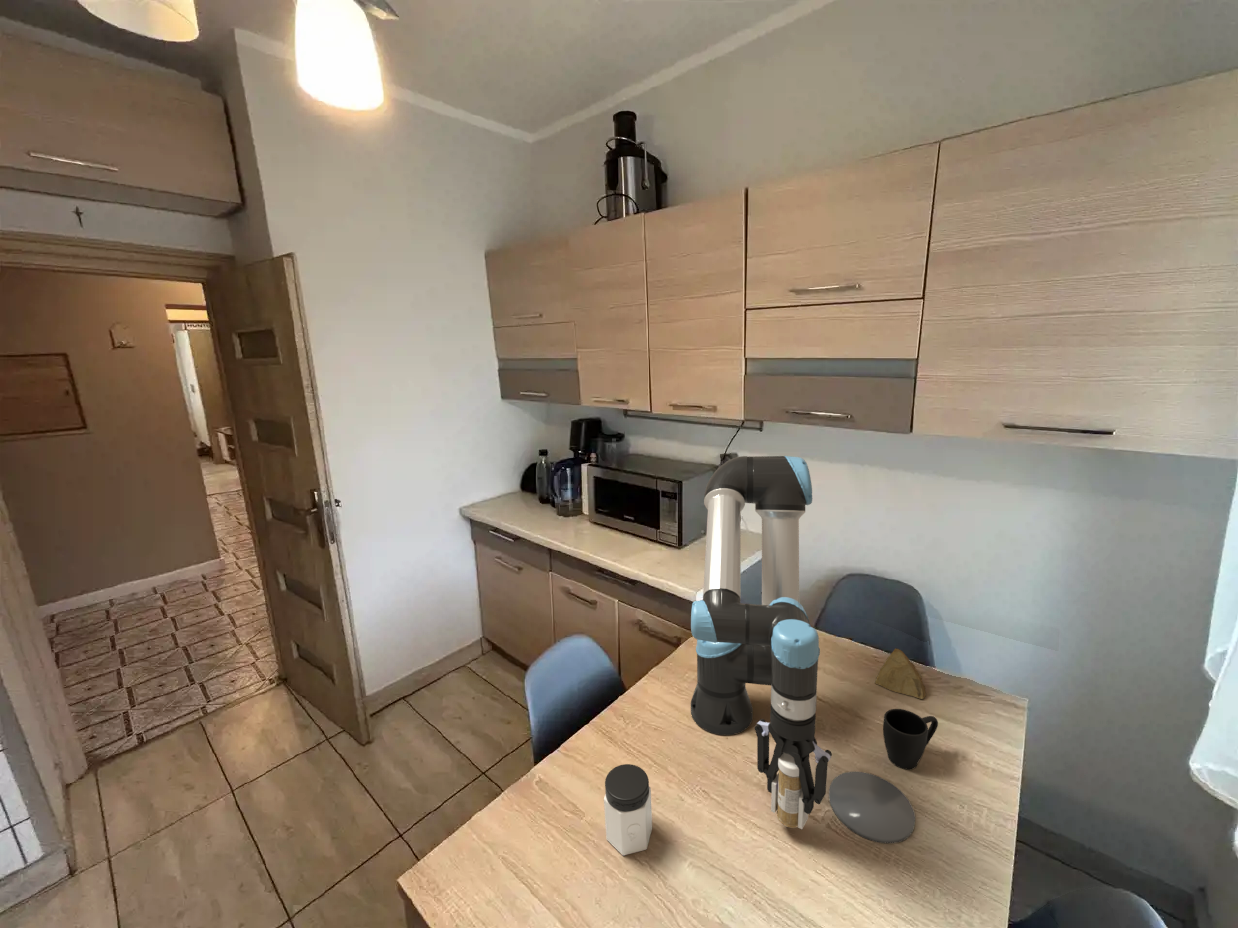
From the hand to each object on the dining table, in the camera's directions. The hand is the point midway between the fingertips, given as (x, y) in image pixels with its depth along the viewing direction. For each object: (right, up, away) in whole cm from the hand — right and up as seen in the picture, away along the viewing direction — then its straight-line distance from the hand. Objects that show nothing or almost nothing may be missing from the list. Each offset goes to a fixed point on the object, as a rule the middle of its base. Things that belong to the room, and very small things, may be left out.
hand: (789, 814), depth 94 cm
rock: (+42, +6, +37) cm, 56 cm away
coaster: (+17, -2, +5) cm, 18 cm away
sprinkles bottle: (0, -1, 0) cm, 1 cm away
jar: (-30, -5, +2) cm, 30 cm away
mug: (+32, +1, +16) cm, 35 cm away
